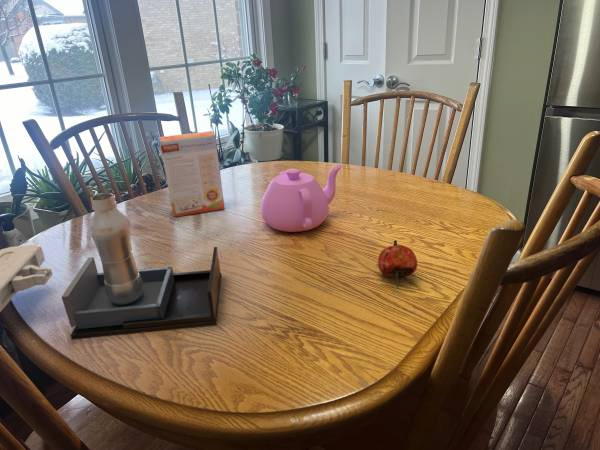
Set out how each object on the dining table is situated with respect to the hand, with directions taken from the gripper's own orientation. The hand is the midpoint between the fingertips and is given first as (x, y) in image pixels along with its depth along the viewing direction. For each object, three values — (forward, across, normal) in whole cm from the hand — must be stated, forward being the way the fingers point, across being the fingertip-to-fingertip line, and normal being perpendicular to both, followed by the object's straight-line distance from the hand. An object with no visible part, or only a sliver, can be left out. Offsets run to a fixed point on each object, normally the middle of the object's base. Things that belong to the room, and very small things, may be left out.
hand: (48, 275), depth 76 cm
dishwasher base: (+17, 0, -8) cm, 18 cm away
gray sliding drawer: (+12, 0, -7) cm, 14 cm away
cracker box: (+20, -45, -8) cm, 50 cm away
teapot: (+48, -32, -8) cm, 58 cm away
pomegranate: (+63, -1, -8) cm, 63 cm away
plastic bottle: (+12, 0, -6) cm, 14 cm away
